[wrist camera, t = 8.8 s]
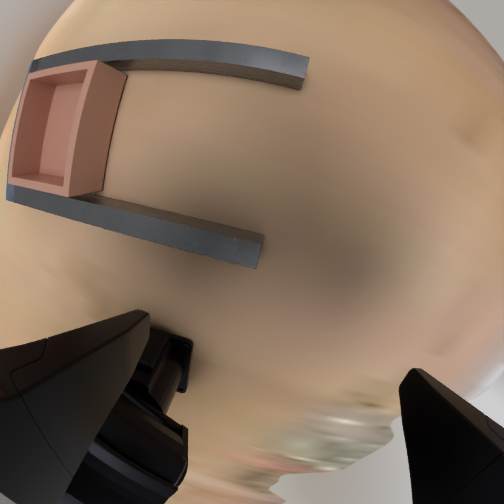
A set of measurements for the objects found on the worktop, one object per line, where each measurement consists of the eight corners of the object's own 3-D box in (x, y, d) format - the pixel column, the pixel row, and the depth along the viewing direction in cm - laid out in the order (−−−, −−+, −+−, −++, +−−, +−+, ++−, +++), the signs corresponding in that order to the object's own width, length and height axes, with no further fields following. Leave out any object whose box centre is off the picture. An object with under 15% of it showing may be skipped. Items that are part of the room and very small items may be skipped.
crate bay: (258, 256, 18) (255, 269, 16) (23, 195, 19) (6, 199, 16) (305, 71, 14) (309, 57, 12) (48, 65, 15) (32, 60, 12)
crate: (101, 190, 18) (68, 197, 14) (39, 178, 18) (7, 183, 14) (127, 75, 15) (97, 59, 11) (58, 81, 15) (28, 73, 11)
